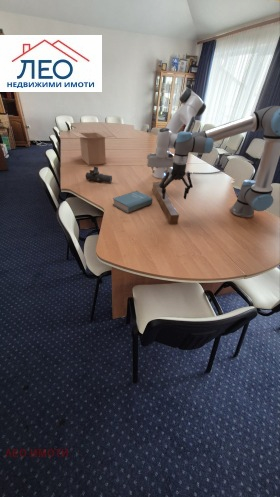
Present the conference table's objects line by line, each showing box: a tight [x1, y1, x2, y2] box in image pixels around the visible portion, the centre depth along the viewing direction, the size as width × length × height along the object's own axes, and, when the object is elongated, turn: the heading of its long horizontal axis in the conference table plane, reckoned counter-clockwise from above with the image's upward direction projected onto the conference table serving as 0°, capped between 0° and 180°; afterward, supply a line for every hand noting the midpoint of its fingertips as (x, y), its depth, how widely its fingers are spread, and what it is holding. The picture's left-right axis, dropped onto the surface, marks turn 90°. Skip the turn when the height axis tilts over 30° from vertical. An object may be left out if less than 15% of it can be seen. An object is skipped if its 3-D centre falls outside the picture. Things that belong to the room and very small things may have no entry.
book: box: [112, 190, 153, 214], centre depth 155 cm, size 23×16×5 cm
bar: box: [151, 181, 180, 225], centre depth 159 cm, size 56×5×6 cm, turn 9°
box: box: [70, 129, 114, 166], centre depth 229 cm, size 44×36×27 cm
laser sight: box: [85, 166, 113, 184], centre depth 187 cm, size 10×22×10 cm, turn 78°
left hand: (159, 172), depth 168 cm, fingers open, 8 cm apart
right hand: (174, 198), depth 136 cm, fingers open, 13 cm apart
